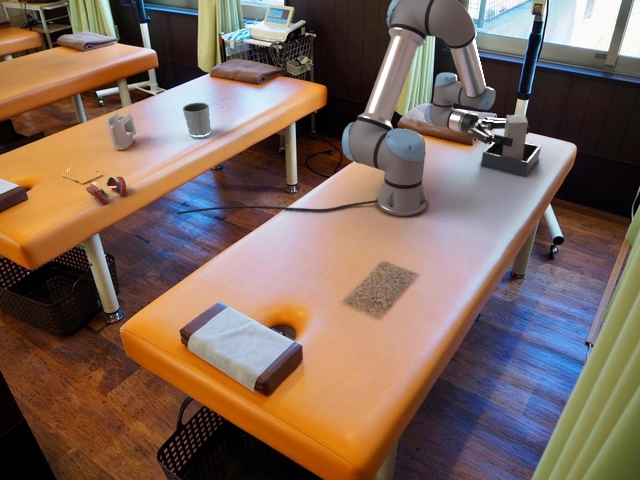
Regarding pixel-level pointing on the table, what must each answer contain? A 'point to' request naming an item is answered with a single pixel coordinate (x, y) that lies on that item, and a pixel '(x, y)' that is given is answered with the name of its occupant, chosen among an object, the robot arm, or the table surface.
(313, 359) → the table surface
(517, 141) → the cosmetic box
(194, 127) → the drinking glass
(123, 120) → the cable organizer
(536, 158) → the box
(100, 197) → the teeth model
